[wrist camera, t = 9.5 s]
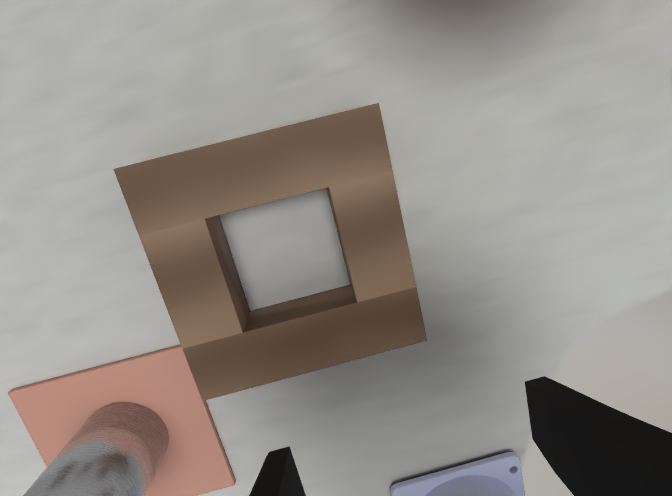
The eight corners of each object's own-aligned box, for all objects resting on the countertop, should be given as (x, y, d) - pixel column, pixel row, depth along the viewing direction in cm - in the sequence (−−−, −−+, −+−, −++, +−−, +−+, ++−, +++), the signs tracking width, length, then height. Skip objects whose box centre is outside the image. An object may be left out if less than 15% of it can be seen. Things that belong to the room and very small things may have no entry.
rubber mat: (235, 480, 22) (234, 484, 22) (82, 523, 22) (79, 528, 21) (183, 343, 20) (181, 346, 19) (11, 389, 19) (7, 392, 19)
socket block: (412, 319, 20) (427, 340, 18) (214, 372, 20) (202, 400, 18) (368, 110, 18) (378, 102, 15) (139, 167, 18) (113, 169, 15)
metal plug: (176, 465, 21) (125, 587, 15) (95, 478, 21) (10, 607, 15) (158, 395, 20) (96, 497, 14) (72, 408, 20) (-29, 517, 14)
